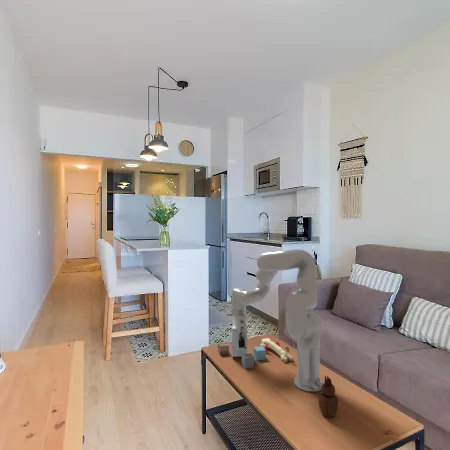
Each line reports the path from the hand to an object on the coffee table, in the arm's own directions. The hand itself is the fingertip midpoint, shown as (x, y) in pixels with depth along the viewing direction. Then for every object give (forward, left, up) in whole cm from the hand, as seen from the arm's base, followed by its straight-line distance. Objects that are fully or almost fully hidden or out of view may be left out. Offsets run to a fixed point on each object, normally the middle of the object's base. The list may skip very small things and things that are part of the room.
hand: (239, 344), depth 165 cm
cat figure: (-1, -20, -7) cm, 21 cm away
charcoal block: (-12, -1, -6) cm, 13 cm away
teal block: (-5, -10, -6) cm, 13 cm away
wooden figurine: (-57, -17, -7) cm, 59 cm away
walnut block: (+6, +7, -6) cm, 12 cm away
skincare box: (0, 0, -6) cm, 6 cm away
